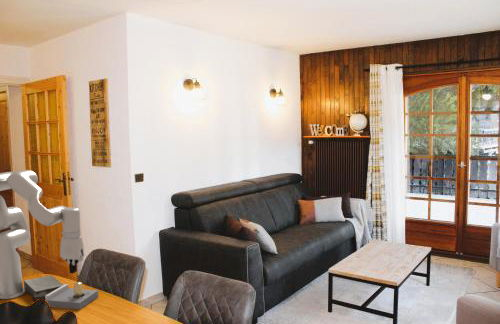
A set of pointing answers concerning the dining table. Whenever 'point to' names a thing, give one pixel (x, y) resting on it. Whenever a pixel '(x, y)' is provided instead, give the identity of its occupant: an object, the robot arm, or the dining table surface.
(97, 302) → the dining table surface
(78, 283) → the brass pin
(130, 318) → the dining table surface
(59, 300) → the plate
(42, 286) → the stone block
